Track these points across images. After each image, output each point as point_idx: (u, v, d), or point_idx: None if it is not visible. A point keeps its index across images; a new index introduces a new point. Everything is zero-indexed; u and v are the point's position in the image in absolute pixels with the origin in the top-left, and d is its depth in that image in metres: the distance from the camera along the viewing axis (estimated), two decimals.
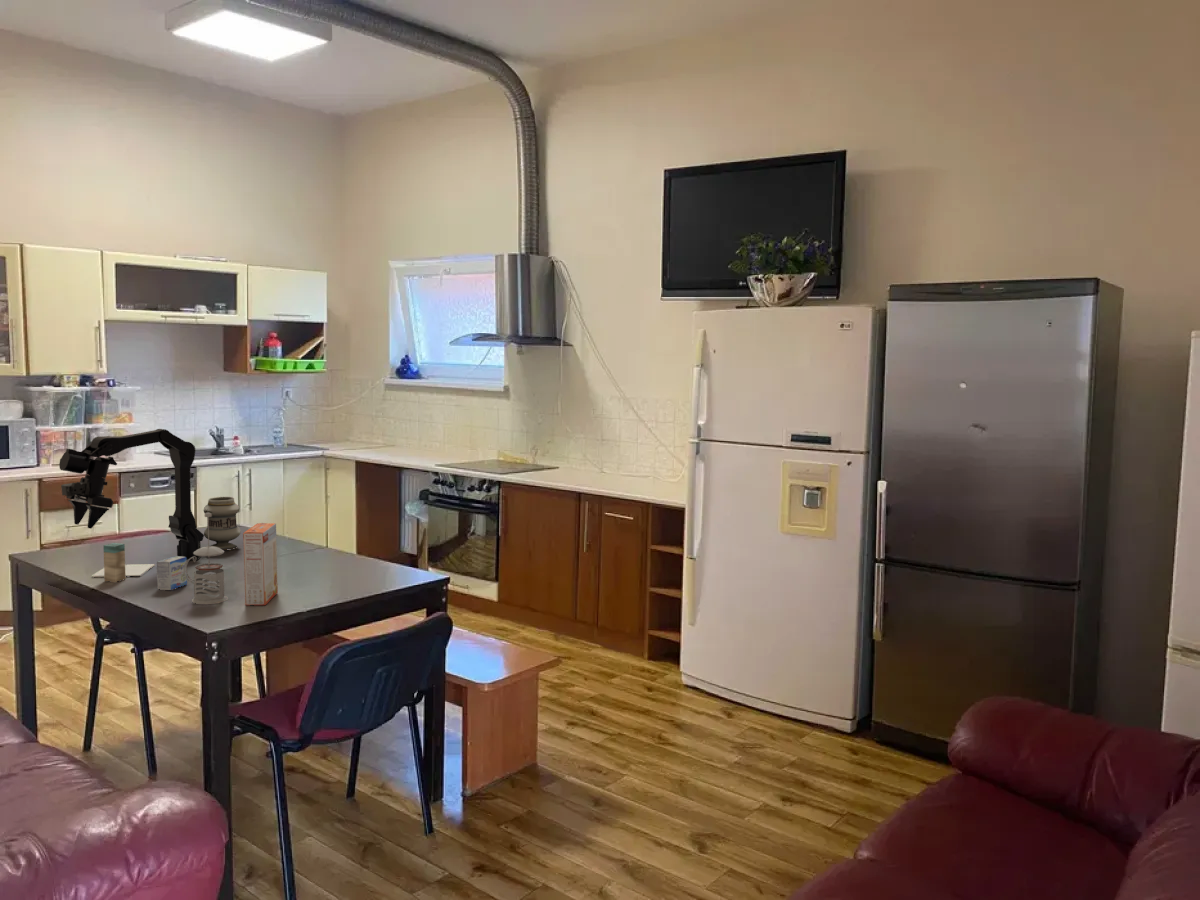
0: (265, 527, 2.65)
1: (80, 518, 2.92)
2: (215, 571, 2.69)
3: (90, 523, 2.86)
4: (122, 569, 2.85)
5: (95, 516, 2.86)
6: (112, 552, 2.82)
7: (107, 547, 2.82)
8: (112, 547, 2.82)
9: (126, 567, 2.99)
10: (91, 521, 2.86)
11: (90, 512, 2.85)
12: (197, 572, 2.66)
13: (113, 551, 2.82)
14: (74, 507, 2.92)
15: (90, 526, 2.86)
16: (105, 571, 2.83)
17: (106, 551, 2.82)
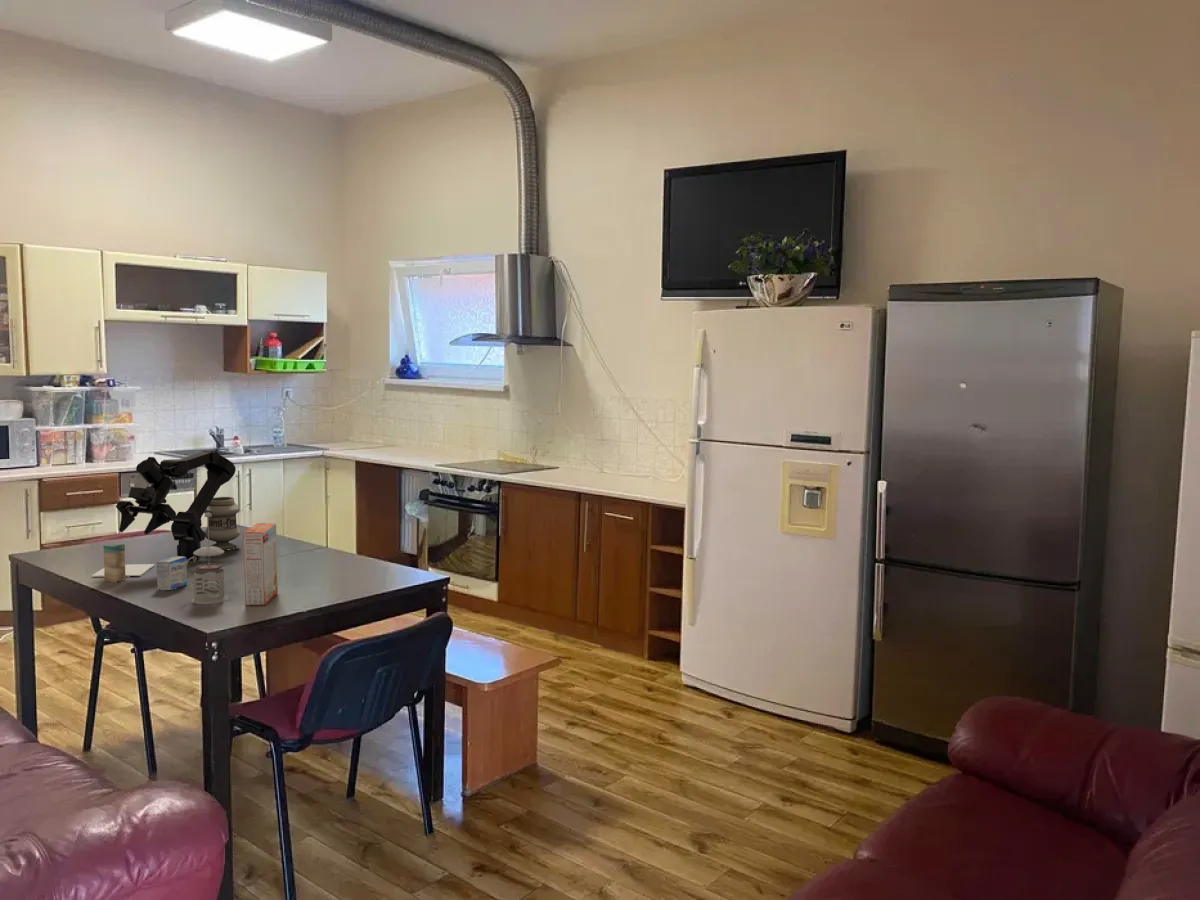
0: (265, 527, 2.65)
1: (125, 527, 2.94)
2: (215, 571, 2.69)
3: (148, 529, 2.90)
4: (122, 569, 2.85)
5: (155, 524, 2.92)
6: (112, 552, 2.82)
7: (107, 547, 2.82)
8: (112, 547, 2.82)
9: (126, 567, 2.99)
10: (150, 527, 2.91)
11: (153, 518, 2.91)
12: (197, 572, 2.66)
13: (113, 551, 2.82)
14: (123, 515, 2.94)
15: (146, 532, 2.90)
16: (105, 571, 2.83)
17: (106, 551, 2.82)
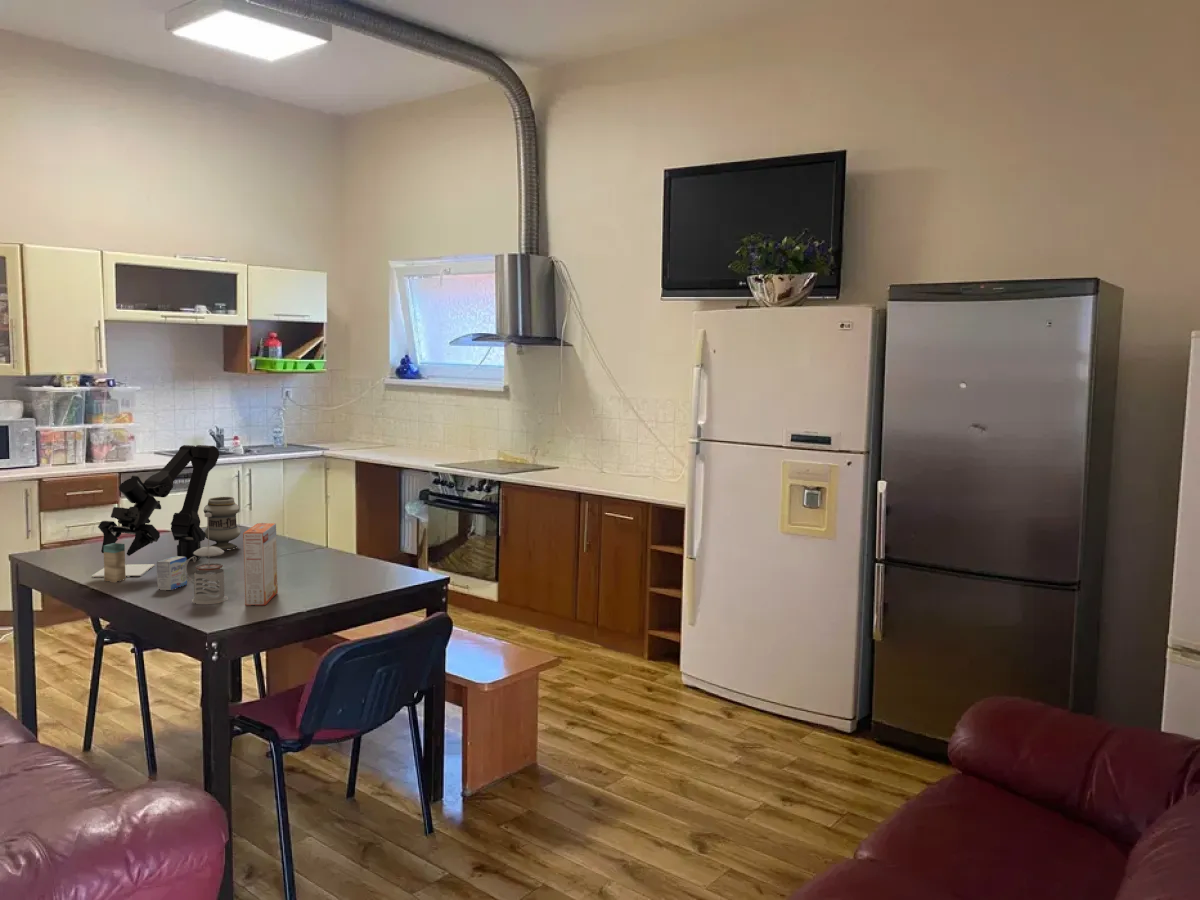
0: (265, 527, 2.65)
1: None
2: (215, 571, 2.69)
3: (131, 550, 2.84)
4: (122, 569, 2.85)
5: (138, 545, 2.85)
6: (112, 552, 2.82)
7: (107, 547, 2.82)
8: (112, 547, 2.82)
9: (126, 567, 2.99)
10: (133, 548, 2.84)
11: (136, 539, 2.85)
12: (197, 572, 2.66)
13: (113, 551, 2.82)
14: (106, 536, 2.88)
15: (129, 553, 2.83)
16: (105, 571, 2.83)
17: (106, 551, 2.82)
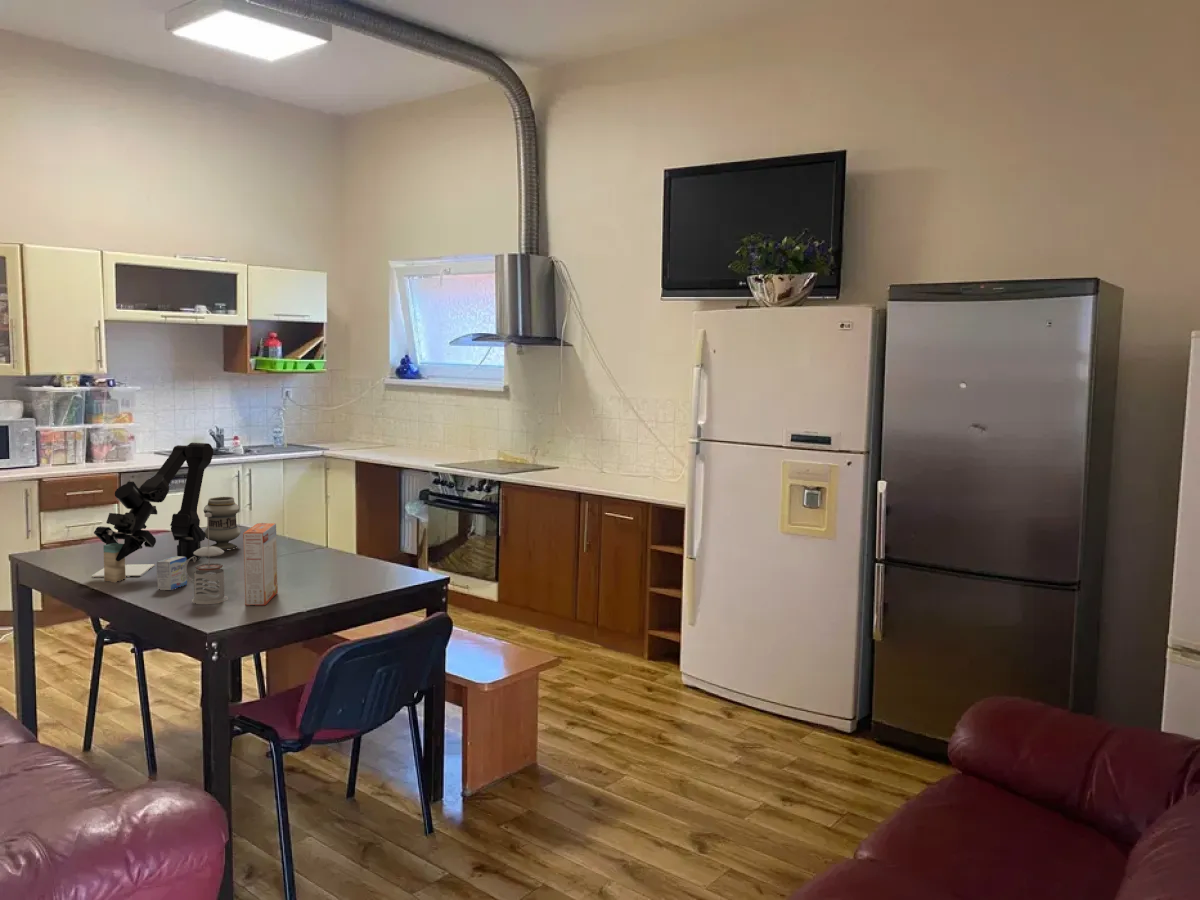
0: (265, 527, 2.65)
1: None
2: (215, 571, 2.69)
3: (120, 555, 2.83)
4: (122, 569, 2.85)
5: (127, 550, 2.85)
6: (112, 552, 2.82)
7: (107, 547, 2.82)
8: (112, 547, 2.82)
9: (126, 567, 2.99)
10: (122, 554, 2.83)
11: (125, 544, 2.84)
12: (197, 572, 2.66)
13: (113, 551, 2.82)
14: (108, 542, 2.86)
15: (118, 558, 2.83)
16: (105, 571, 2.83)
17: (106, 551, 2.82)
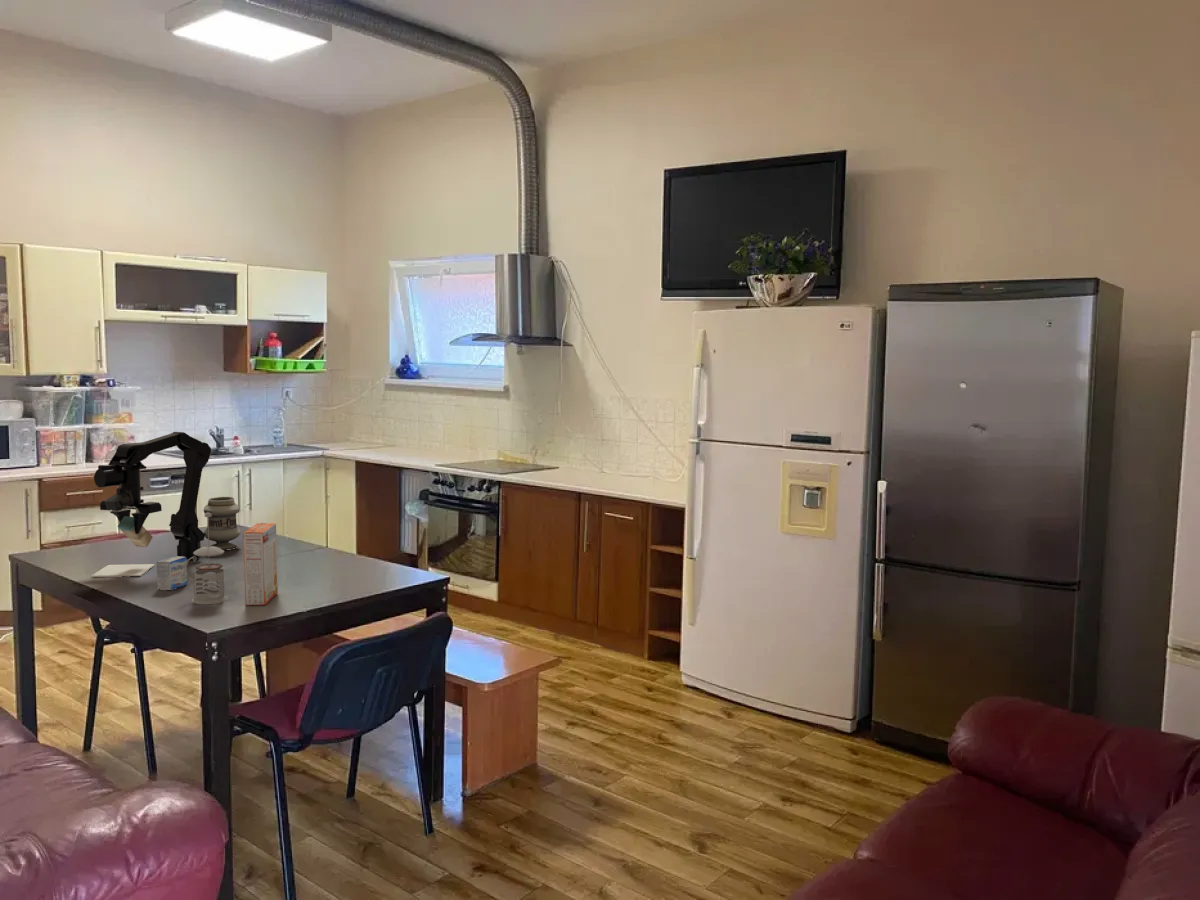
0: (265, 527, 2.65)
1: None
2: (215, 571, 2.69)
3: (137, 529, 2.95)
4: (145, 534, 3.00)
5: (140, 521, 2.96)
6: (129, 530, 2.94)
7: (122, 527, 2.93)
8: (126, 527, 2.93)
9: (126, 567, 2.99)
10: (138, 527, 2.95)
11: (136, 519, 2.94)
12: (197, 572, 2.66)
13: (129, 530, 2.94)
14: (119, 517, 2.95)
15: (137, 531, 2.96)
16: (132, 541, 2.99)
17: (123, 530, 2.94)
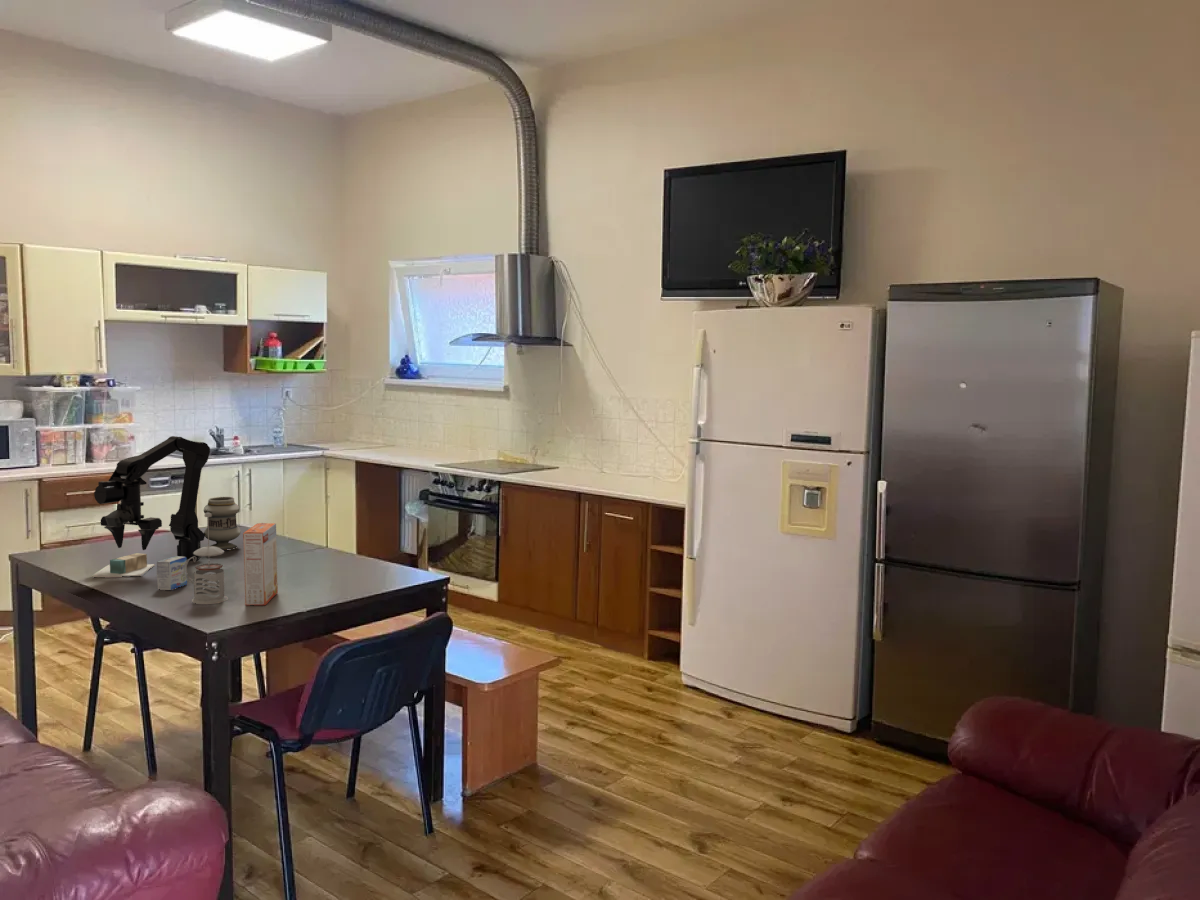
0: (265, 527, 2.65)
1: (121, 541, 2.99)
2: (215, 571, 2.69)
3: (144, 545, 2.95)
4: (138, 559, 2.98)
5: (147, 537, 2.96)
6: None
7: None
8: None
9: None
10: (145, 543, 2.95)
11: (143, 535, 2.94)
12: (197, 572, 2.66)
13: (123, 572, 2.92)
14: (113, 532, 2.97)
15: (144, 547, 2.96)
16: None
17: None
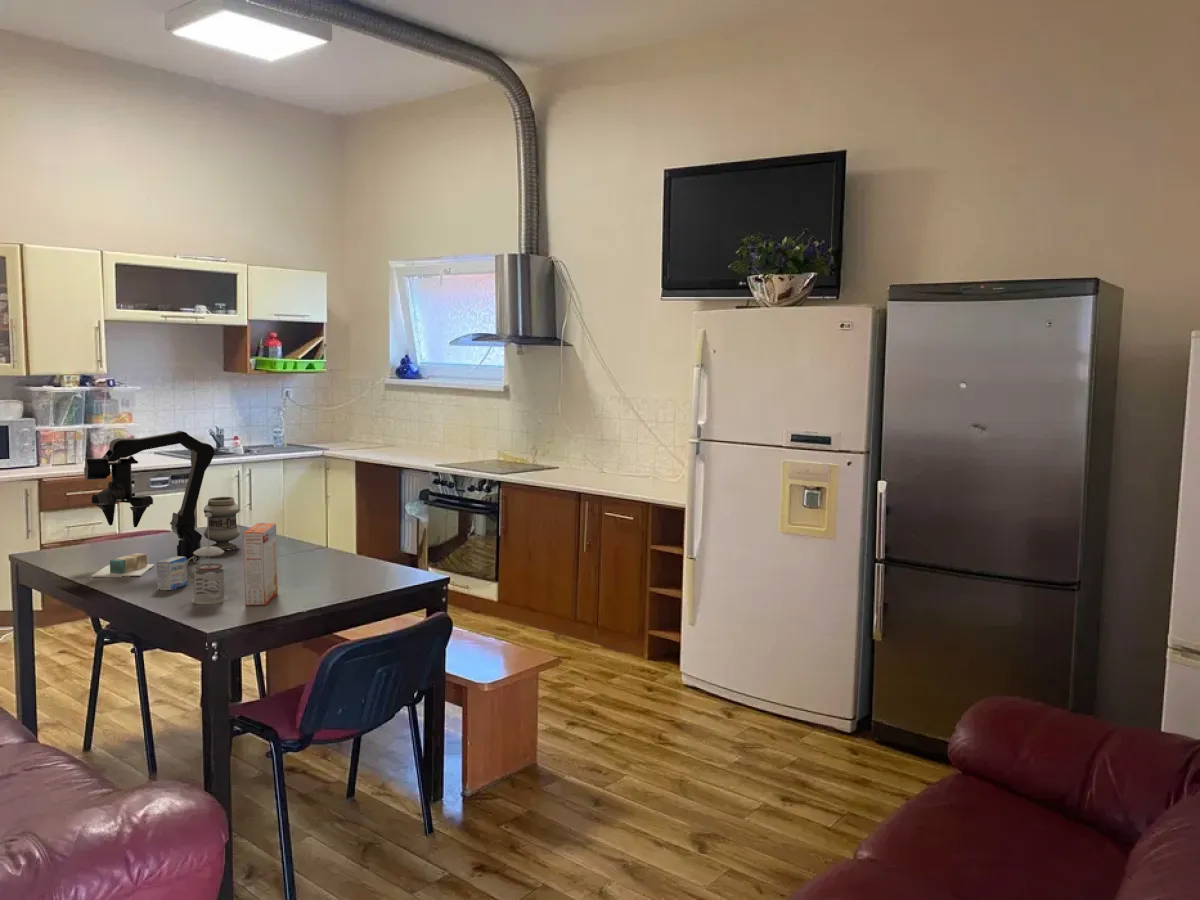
0: (265, 527, 2.65)
1: (112, 518, 3.04)
2: (215, 571, 2.69)
3: (136, 522, 3.01)
4: (138, 559, 2.98)
5: (139, 515, 3.01)
6: None
7: None
8: None
9: None
10: (136, 520, 3.01)
11: (135, 513, 2.99)
12: (197, 572, 2.66)
13: (123, 572, 2.92)
14: (104, 510, 3.02)
15: (135, 524, 3.01)
16: None
17: None
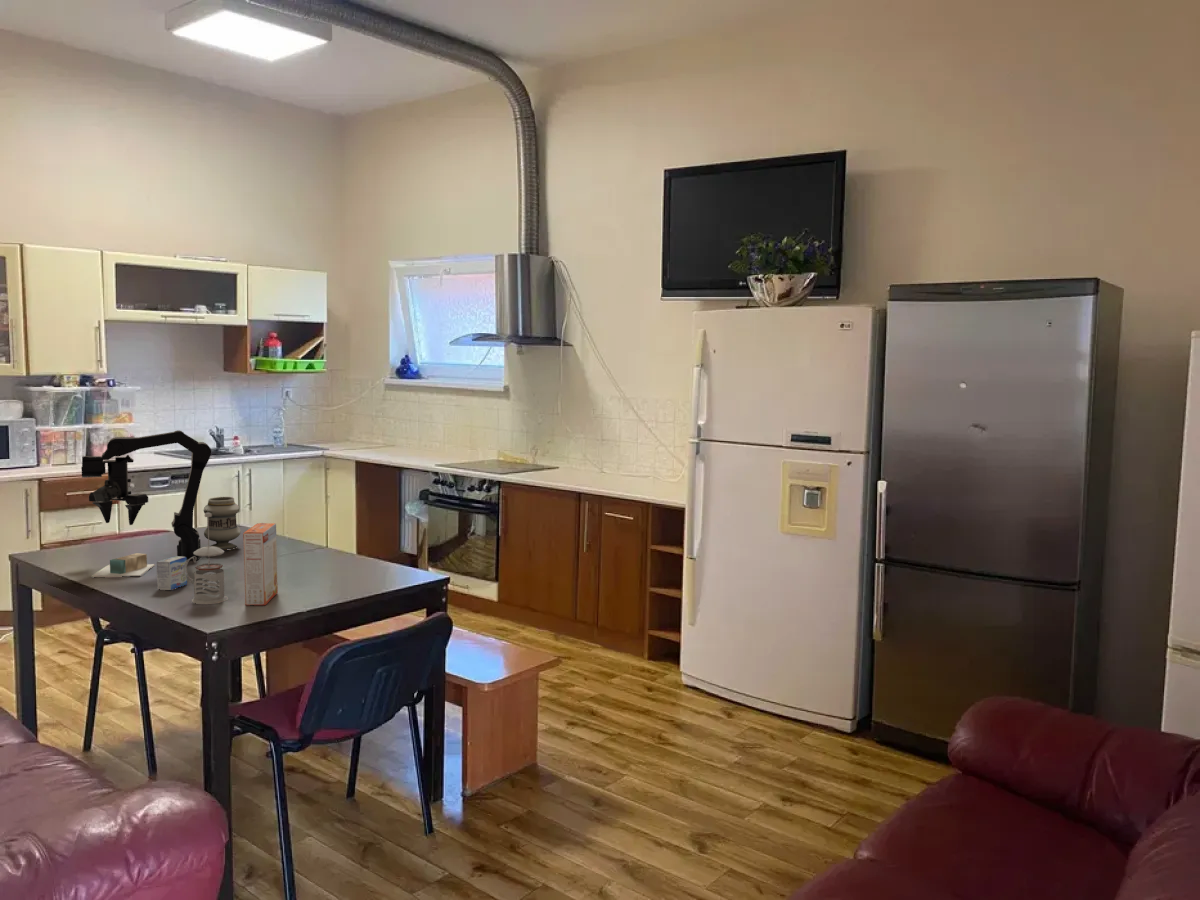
0: (265, 527, 2.65)
1: (109, 516, 3.08)
2: (215, 571, 2.69)
3: (131, 520, 3.04)
4: (138, 559, 2.98)
5: (134, 513, 3.04)
6: None
7: None
8: None
9: None
10: (132, 518, 3.04)
11: (130, 511, 3.03)
12: (197, 572, 2.66)
13: (123, 572, 2.92)
14: (101, 508, 3.06)
15: (131, 522, 3.05)
16: None
17: None
